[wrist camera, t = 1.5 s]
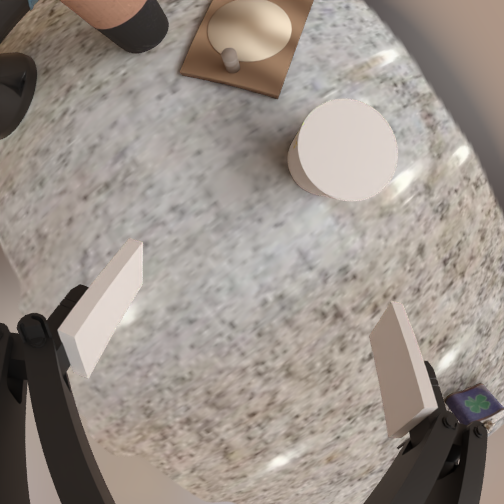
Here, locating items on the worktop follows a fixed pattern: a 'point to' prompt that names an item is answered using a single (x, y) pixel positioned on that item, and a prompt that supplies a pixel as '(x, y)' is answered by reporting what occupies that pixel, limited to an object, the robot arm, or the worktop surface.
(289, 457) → the worktop surface
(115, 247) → the worktop surface
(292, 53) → the tray
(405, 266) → the worktop surface
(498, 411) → the flask
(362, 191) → the cup
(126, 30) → the travel mug
